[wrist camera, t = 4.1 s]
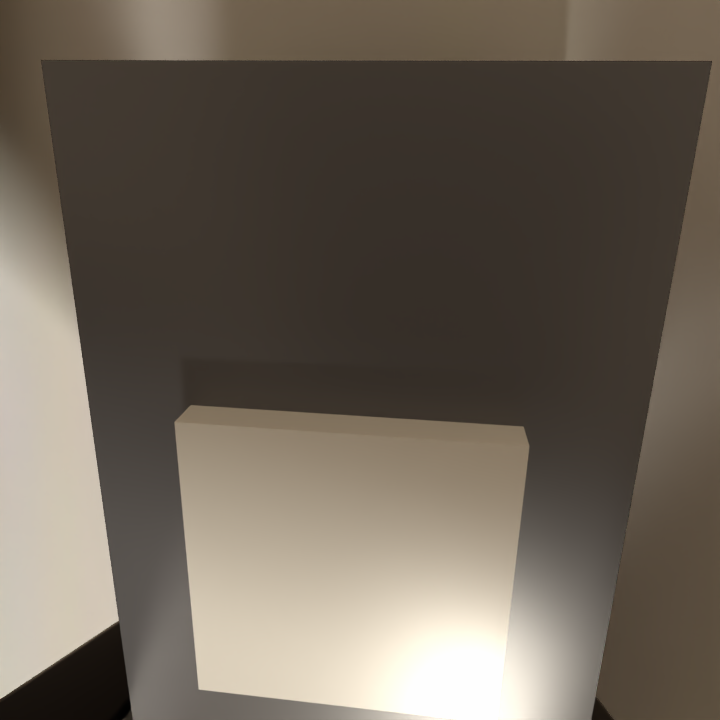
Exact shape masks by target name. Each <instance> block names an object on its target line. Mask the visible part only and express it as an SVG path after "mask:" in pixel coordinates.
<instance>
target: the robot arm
mask: <svg viewBox="0 0 720 720" xmlns="http://www.w3.org/2000/svg"><path fill="white" fill-rule="evenodd" d="M0 720H133V717H132V710H131V703H130V696H129V688H128V681H127V674H126V667H125V660H124V652H123V645H122V638H121V631H120V624H119V621H118V622H116V623H115V624H113V625H112V626H110V627H109V628H107V629H105V630H104V631H102V632H101V633H99V634H98V635H96V636H95V637H93V638H92V639H90V640H89V641H87V642H86V643H84V644H83V645H81V646H80V647H78V648H77V649H75V650H74V651H72V652H71V653H69V654H68V655H66V656H65V657H63V658H62V659H60V660H59V661H57V662H56V663H54V664H53V665H51V666H50V667H48V668H47V669H45V670H44V671H42V672H41V673H39V674H38V675H36V676H35V677H33V678H32V679H30V680H29V681H27V682H26V683H24V684H23V685H21V686H20V687H18V688H17V689H15V690H14V691H12V692H11V693H9V694H8V695H6V696H4V697H3V698H1V699H0ZM591 720H614V719H613V718H612V717H611V715H610V714H609V713H608V711H607V710H606V709H605V707H604V706H603V705H602V703H601V702H600V701H599V699H598V698H597V697H595V702H594V707H593V713H592V718H591Z"/></svg>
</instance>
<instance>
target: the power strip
mask: <svg viewBox="0 0 720 720" xmlns="http://www.w3.org/2000/svg"><path fill="white" fill-rule="evenodd" d="M41 63H42V70H43V77H44V84H45V92H46V99H47V106H48V113H49V120H50V127H51V135H52V142H53V149H54V156H55V163H56V171H57V178H58V185H59V192H60V199H61V207H62V214H63V221H64V228H65V235H66V243H67V250H68V257H69V264H70V271H71V279H72V286H73V293H74V300H75V307H76V314H77V322H78V329H79V336H80V343H81V350H82V358H83V365H84V372H85V379H86V386H87V394H88V401H89V408H90V415H91V422H92V430H93V437H94V444H95V451H96V458H97V466H98V473H99V480H100V487H101V494H102V501H103V509H104V516H105V523H106V530H107V537H108V545H109V552H110V559H111V566H112V573H113V581H114V588H115V595H116V602H117V609H118V617H119V624H120V631H121V638H122V645H123V652H124V660H125V667H126V674H127V681H128V688H129V696H130V703H131V710H132V717H133V720H591V718H592V713H593V707H594V702H595V697H596V691H597V686H598V680H599V675H600V669H601V664H602V658H603V653H604V648H605V642H606V637H607V631H608V626H609V620H610V615H611V609H612V604H613V598H614V593H615V588H616V582H617V577H618V571H619V566H620V560H621V555H622V549H623V544H624V539H625V533H626V528H627V522H628V517H629V511H630V506H631V500H632V495H633V489H634V484H635V479H636V473H637V468H638V462H639V457H640V451H641V446H642V440H643V435H644V430H645V424H646V419H647V413H648V408H649V402H650V397H651V391H652V386H653V380H654V375H655V370H656V364H657V359H658V353H659V348H660V342H661V337H662V331H663V326H664V321H665V315H666V310H667V304H668V299H669V293H670V288H671V282H672V277H673V271H674V266H675V261H676V255H677V250H678V244H679V239H680V233H681V228H682V222H683V217H684V212H685V206H686V201H687V195H688V190H689V184H690V179H691V173H692V168H693V162H694V157H695V152H696V146H697V141H698V135H699V130H700V124H701V119H702V113H703V108H704V103H705V97H706V92H707V86H708V81H709V75H710V70H711V64H712V61H168V60H167V61H166V60H41Z"/></svg>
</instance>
